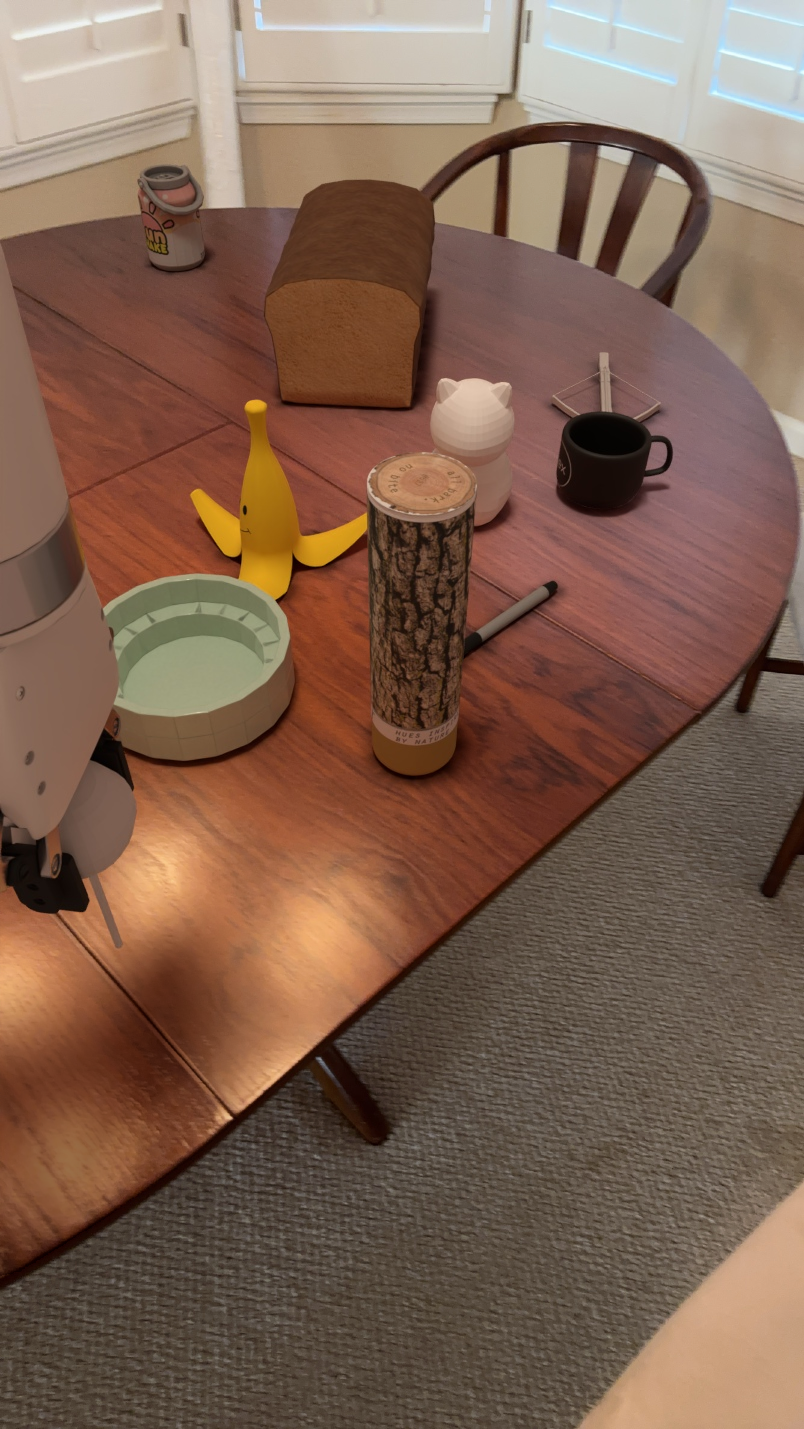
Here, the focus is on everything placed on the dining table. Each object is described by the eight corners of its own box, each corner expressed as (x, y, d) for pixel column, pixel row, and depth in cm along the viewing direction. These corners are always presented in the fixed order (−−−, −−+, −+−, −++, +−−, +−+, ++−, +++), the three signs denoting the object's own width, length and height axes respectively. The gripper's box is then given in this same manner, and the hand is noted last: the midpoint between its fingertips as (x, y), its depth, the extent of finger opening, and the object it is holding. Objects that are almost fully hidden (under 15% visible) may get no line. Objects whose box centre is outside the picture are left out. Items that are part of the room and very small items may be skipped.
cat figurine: (418, 536, 95) (422, 399, 84) (429, 467, 103) (434, 334, 92) (507, 543, 94) (523, 406, 83) (511, 473, 103) (526, 340, 92)
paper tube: (471, 737, 77) (497, 473, 58) (427, 793, 73) (441, 528, 55) (400, 704, 79) (404, 440, 61) (355, 756, 75) (344, 491, 57)
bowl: (68, 756, 75) (47, 705, 71) (131, 618, 86) (117, 566, 82) (272, 776, 74) (265, 725, 70) (310, 633, 85) (306, 581, 81)
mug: (564, 520, 97) (574, 460, 92) (545, 471, 103) (553, 412, 98) (677, 514, 98) (693, 453, 93) (652, 465, 104) (666, 406, 99)
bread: (434, 300, 131) (439, 173, 119) (422, 412, 111) (425, 273, 99) (305, 295, 132) (296, 168, 120) (269, 405, 112) (255, 266, 100)
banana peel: (237, 636, 84) (210, 475, 72) (193, 517, 96) (164, 362, 84) (409, 596, 88) (413, 437, 76) (347, 486, 100) (341, 333, 88)
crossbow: (660, 441, 109) (664, 426, 107) (550, 434, 109) (552, 418, 108) (652, 366, 119) (656, 350, 117) (551, 359, 119) (553, 344, 118)
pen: (558, 593, 89) (560, 582, 88) (437, 678, 81) (437, 667, 80) (548, 586, 90) (550, 576, 89) (426, 670, 82) (426, 659, 81)
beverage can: (222, 263, 139) (211, 173, 130) (176, 280, 135) (161, 189, 126) (183, 245, 143) (170, 157, 134) (138, 261, 139) (121, 172, 130)
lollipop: (83, 1012, 51) (7, 855, 40) (49, 930, 55) (-30, 764, 44) (189, 959, 54) (145, 796, 43) (150, 883, 57) (100, 714, 46)
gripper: (-28, 422, 40) (69, 712, 53) (-273, 718, 28) (-70, 997, 41) (146, 437, 39) (200, 726, 53) (-29, 745, 28) (97, 1018, 41)
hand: (80, 843), depth 47 cm, fingers closed on lollipop, 6 cm apart
